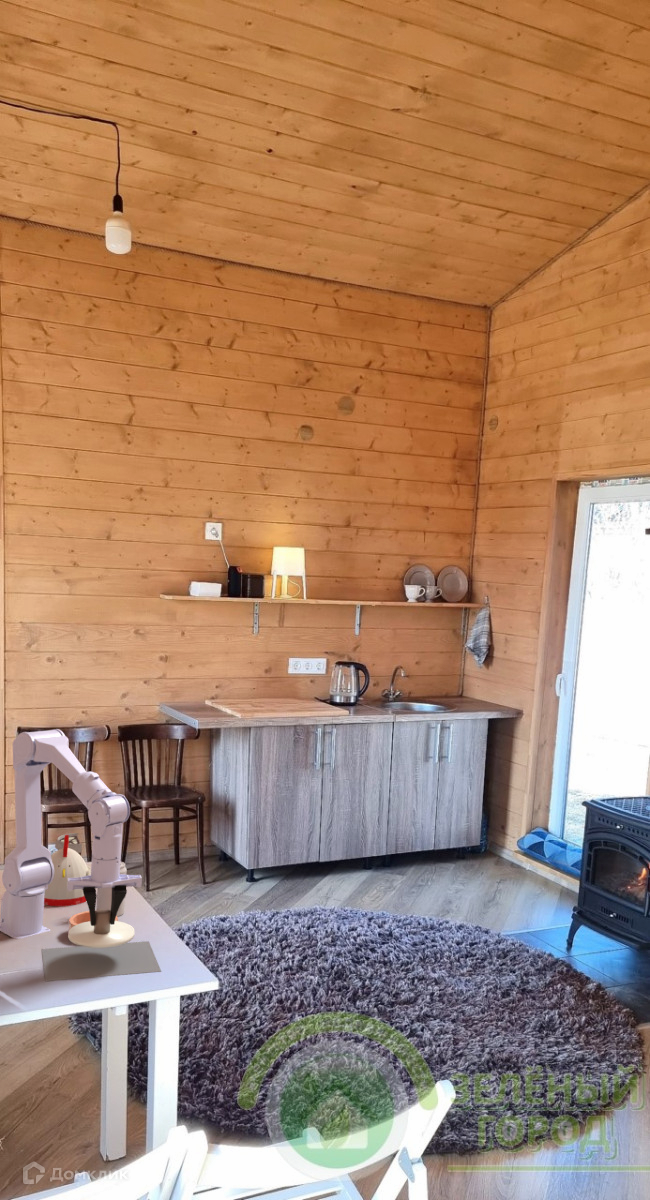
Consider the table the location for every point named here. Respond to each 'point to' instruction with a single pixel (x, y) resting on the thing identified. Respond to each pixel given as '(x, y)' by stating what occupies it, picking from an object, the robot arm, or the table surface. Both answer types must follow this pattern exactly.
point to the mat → (98, 961)
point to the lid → (101, 932)
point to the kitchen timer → (66, 877)
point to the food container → (70, 843)
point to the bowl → (81, 919)
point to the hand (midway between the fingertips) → (102, 923)
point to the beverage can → (110, 895)
